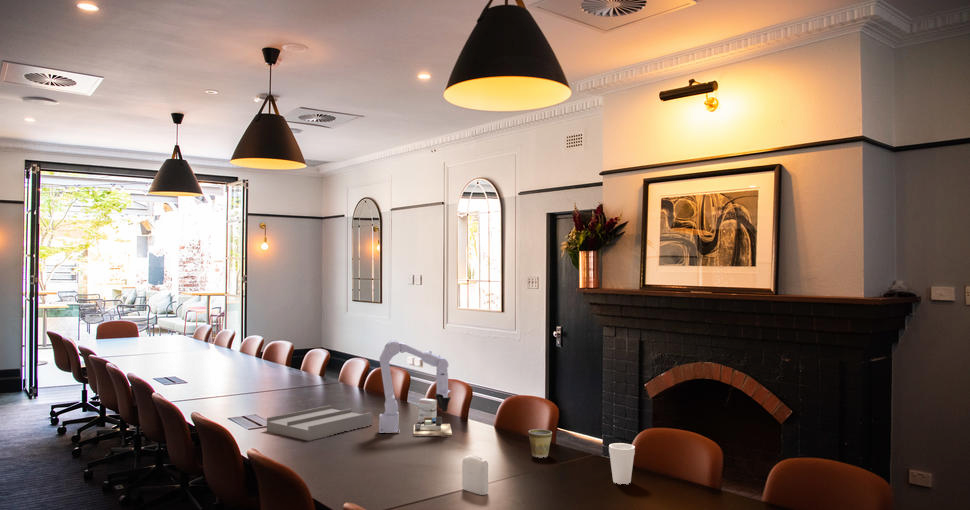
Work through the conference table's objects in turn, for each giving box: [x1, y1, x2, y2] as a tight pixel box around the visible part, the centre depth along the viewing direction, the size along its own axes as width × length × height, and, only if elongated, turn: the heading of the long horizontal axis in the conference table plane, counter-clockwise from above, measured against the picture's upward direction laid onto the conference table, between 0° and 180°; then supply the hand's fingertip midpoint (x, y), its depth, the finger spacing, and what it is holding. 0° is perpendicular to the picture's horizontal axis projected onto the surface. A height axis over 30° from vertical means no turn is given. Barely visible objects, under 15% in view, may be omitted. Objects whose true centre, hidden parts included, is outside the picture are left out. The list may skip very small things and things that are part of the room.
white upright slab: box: [461, 454, 489, 496], centre depth 225 cm, size 10×4×12 cm, turn 47°
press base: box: [413, 417, 453, 436], centre depth 314 cm, size 18×20×6 cm
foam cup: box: [608, 442, 636, 485], centre depth 238 cm, size 10×9×13 cm
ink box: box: [417, 397, 438, 422], centre depth 336 cm, size 8×5×12 cm, turn 59°
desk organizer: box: [266, 405, 373, 442], centre depth 320 cm, size 32×40×7 cm
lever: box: [415, 416, 443, 431], centre depth 311 cm, size 13×3×6 cm, turn 96°
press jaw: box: [425, 420, 431, 425], centre depth 314 cm, size 3×3×4 cm
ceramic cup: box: [528, 428, 553, 459], centre depth 274 cm, size 13×10×10 cm
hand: (442, 410), depth 317 cm, fingers open, 7 cm apart
